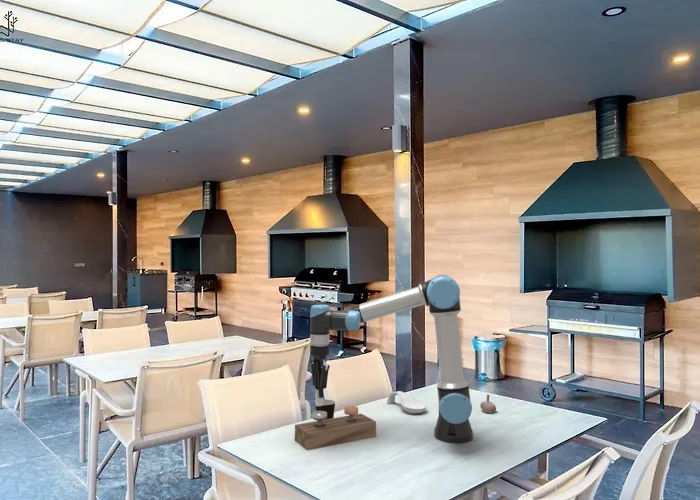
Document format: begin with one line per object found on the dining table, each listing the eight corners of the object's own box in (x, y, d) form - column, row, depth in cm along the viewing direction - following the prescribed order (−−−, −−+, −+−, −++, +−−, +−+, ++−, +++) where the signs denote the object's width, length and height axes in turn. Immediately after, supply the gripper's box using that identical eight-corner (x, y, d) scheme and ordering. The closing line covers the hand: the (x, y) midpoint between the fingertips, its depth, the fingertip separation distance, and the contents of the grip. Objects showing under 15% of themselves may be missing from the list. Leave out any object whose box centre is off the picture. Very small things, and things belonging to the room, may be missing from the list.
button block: (376, 436, 205) (376, 421, 205) (307, 450, 190) (307, 433, 190) (361, 427, 215) (361, 413, 215) (294, 440, 201) (294, 424, 201)
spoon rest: (432, 413, 236) (432, 397, 236) (412, 418, 229) (412, 401, 230) (399, 401, 256) (399, 387, 256) (380, 405, 249) (380, 390, 249)
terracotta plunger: (360, 428, 205) (360, 408, 205) (348, 431, 202) (348, 410, 203) (354, 424, 210) (353, 405, 210) (341, 426, 207) (341, 407, 208)
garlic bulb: (483, 408, 243) (483, 391, 243) (499, 411, 239) (498, 394, 239) (477, 412, 237) (477, 395, 237) (493, 415, 233) (493, 397, 233)
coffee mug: (332, 429, 213) (332, 405, 213) (312, 428, 215) (312, 404, 215) (338, 421, 225) (338, 398, 225) (319, 419, 226) (319, 397, 226)
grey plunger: (329, 434, 198) (329, 413, 199) (316, 436, 196) (316, 415, 196) (323, 430, 203) (323, 410, 203) (310, 432, 201) (310, 412, 201)
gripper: (304, 342, 204) (303, 402, 204) (318, 348, 193) (317, 411, 192) (321, 341, 208) (320, 400, 207) (335, 346, 196) (335, 408, 196)
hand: (319, 405), depth 200 cm, fingers closed
